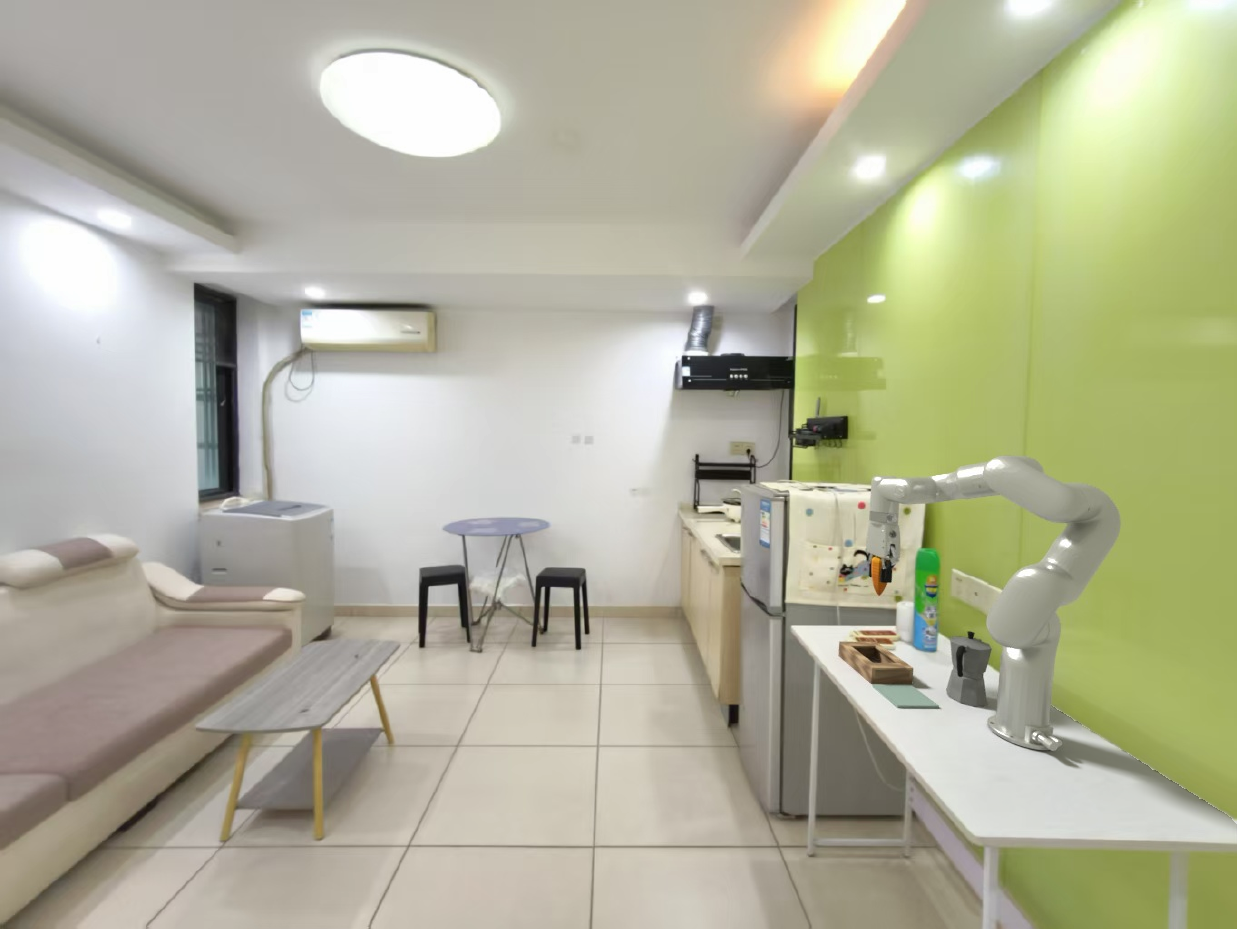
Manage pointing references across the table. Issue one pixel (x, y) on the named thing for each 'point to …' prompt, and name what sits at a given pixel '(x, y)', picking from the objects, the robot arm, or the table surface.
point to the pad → (905, 696)
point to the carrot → (877, 575)
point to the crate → (875, 673)
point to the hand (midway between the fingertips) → (879, 579)
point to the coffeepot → (968, 670)
